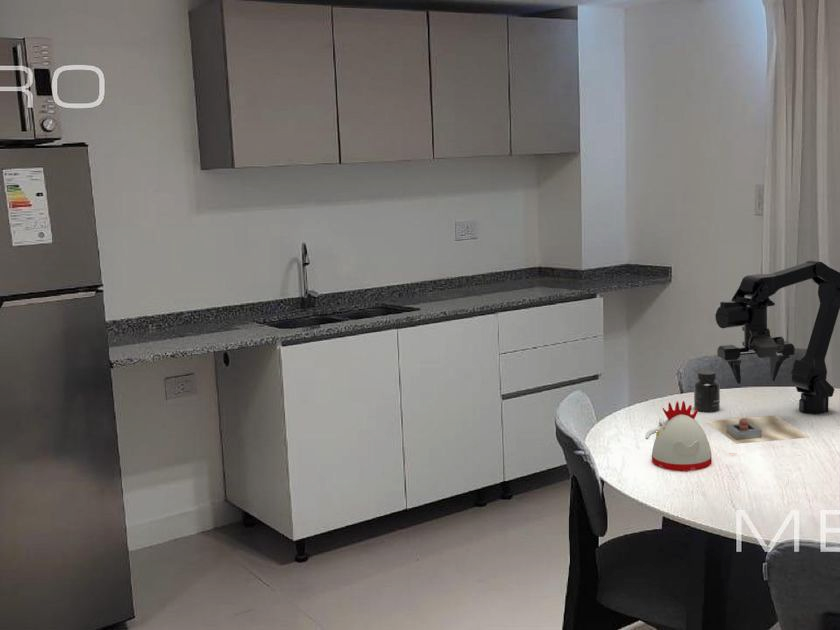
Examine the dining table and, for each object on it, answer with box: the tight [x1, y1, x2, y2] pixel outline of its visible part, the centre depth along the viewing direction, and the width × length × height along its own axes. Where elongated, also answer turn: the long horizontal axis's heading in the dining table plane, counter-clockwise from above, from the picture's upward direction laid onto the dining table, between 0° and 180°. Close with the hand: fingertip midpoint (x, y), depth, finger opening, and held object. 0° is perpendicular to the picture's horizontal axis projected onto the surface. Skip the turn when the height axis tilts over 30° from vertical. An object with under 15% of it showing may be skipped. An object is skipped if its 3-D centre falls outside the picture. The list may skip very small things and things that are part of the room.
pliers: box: [645, 417, 666, 440], centre depth 254 cm, size 10×2×15 cm
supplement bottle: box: [693, 370, 721, 414], centre depth 266 cm, size 7×7×12 cm
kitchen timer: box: [651, 400, 712, 472], centre depth 229 cm, size 14×14×15 cm
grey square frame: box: [726, 423, 762, 440], centre depth 242 cm, size 6×6×2 cm
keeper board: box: [705, 415, 810, 444], centre depth 246 cm, size 19×20×6 cm
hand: (755, 382), depth 251 cm, fingers open, 9 cm apart
